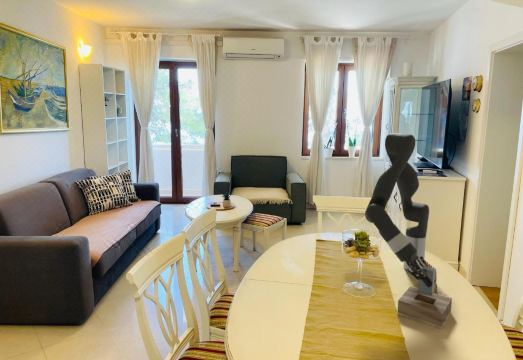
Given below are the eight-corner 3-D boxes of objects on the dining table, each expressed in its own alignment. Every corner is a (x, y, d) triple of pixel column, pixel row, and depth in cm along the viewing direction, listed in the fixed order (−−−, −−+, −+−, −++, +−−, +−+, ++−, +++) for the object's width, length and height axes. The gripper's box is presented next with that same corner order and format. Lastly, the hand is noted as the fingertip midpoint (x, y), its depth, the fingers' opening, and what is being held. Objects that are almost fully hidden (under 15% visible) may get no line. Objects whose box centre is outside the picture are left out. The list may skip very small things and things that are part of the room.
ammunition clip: (436, 296, 162) (438, 269, 159) (432, 296, 162) (434, 269, 159) (424, 284, 172) (426, 259, 170) (420, 284, 172) (422, 259, 170)
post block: (408, 300, 158) (409, 286, 157) (450, 312, 149) (452, 298, 148) (397, 314, 148) (398, 300, 147) (441, 328, 138) (443, 313, 137)
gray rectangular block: (419, 289, 149) (421, 265, 147) (433, 292, 146) (435, 268, 144) (417, 292, 147) (419, 267, 145) (431, 296, 144) (433, 271, 142)
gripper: (403, 247, 142) (435, 286, 137) (414, 237, 153) (444, 273, 148) (388, 257, 146) (418, 296, 141) (400, 246, 157) (429, 282, 152)
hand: (432, 284), depth 145 cm, fingers closed on gray rectangular block, 3 cm apart
